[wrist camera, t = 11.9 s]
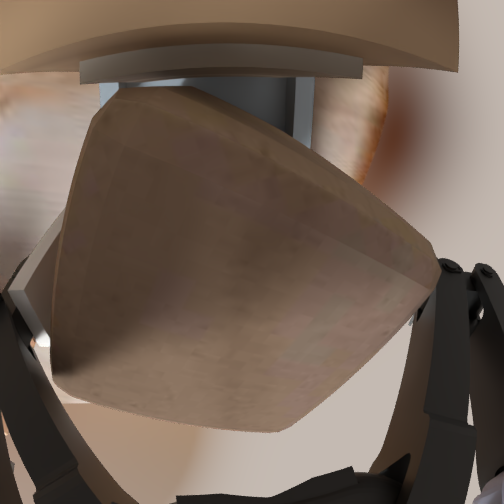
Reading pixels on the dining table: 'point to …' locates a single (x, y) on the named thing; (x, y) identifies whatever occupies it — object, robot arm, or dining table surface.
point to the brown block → (225, 37)
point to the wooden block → (221, 267)
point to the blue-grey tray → (250, 98)
